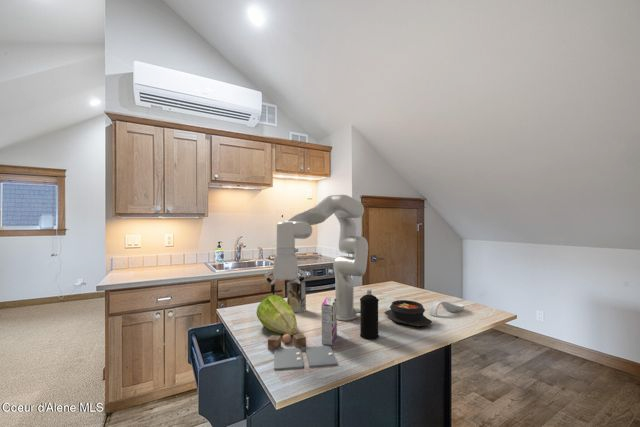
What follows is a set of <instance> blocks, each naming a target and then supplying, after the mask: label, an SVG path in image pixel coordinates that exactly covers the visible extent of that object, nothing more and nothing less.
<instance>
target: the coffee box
mask: <svg viewBox="0 0 640 427" xmlns="http://www.w3.org/2000/svg"><path fill="white" fill-rule="evenodd" d="M296 283H297V282H296V280H295V279H294V280H288V282H287V283H286V288H287V290H286V293H287V294H286V295H287V296H286V297H287V301H286V302H287V303H288V304H289V305H290V307H291V308H292V310H293V312H294V313H298V314H299V313H300V314H302V313H304V312H305V311H307V304H306V303H307V299H306V298H307V295H306V294H307V293H306V292H307V287H306V286H307V285H306V284H307V283H306V281H305V280H303V281H302V282H301V283H300V291H298V294H297V293H296Z"/></svg>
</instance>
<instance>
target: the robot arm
mask: <svg viewBox="0 0 640 427" xmlns="http://www.w3.org/2000/svg"><path fill="white" fill-rule="evenodd" d="M364 213H365V208H364V205H363V203H362V202H360V201H359V200H357V199H355V198H353V196H352V197H351V196H350V195H346V194H332V195H330V194H329V195H328V196H326V197H325V198H323V199H322V200H320V201H319V202H318V203H317V204H315V205H314V206H312V207H310V208H308V209H306V210H304V211H301V212H299V213H297V214H295V215H293V216H291V217H290V218H288V219H287V220H286V221H279V222H278V223H277V224H276V254H275V255H274V258H273V264H272V265H273V266H272V269H270V270H268V271H266V272H265V273H264V275H263V276H264V278H265V279H266V281H267V282H268V284H270V293H272V295H276V294H275V292H276V291H275V285H276V284H275V283H276V281H287V280H288V281H291V280H295V281H296V282H297V283H296V293H297V294H298V291H300V283H301V282H302V281H305V280H304V279H305V278H306V276H307V272H306V271H304V270H302V269H300V268H299V265H298V257H297V254H296V253H298V252H299V248H296V241H295V240H297V239H299V240H305V239H308V238H310V237H311V236H312V233H313V227H312V226H314V225H318V224H321V223H324V222H325V221H327V219H329V218H330V217H331V216H333V214H334V216H335V217H336V219H337V220H338V223H339V226H340V227H339V239H338V250H339V252H340V253H343V254H347V255H339V256H336V257H335V259H334V261H333V272H334V277H335V278H334V279H335V280H334V281H335V284H334V285H335V286H334V288H335V289H334V290H335V292H334V293H335V297H334V298H336V308H337V321H343V322H344V321H345V322H347V321H349V322H350V321H353V320H355V319H357V318H358V317H357V316H358V315H357V314H360V308H355V307H354V306H355V303H354V301H355V300H354V299H355V298H354V297H355V296H354V295H355V294H354V292H355V291H354V288H355V286H354V279H353V277H358V278H359V277H360V278H361V277H363V276H364V275H365V274H366V271H367V264H368V256H369V253H368V252H369V243H368V240H367V239H366V238H365V237H364V236H360V235H357V226H356V222H355V220H354V219H359V218H361V217H362V216H364ZM348 255H354V256H348ZM271 274H272V276H273V278H272V279H271V277H270V275H271ZM299 274H302V275H301V277H300V278H298V277H299Z"/></svg>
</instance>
